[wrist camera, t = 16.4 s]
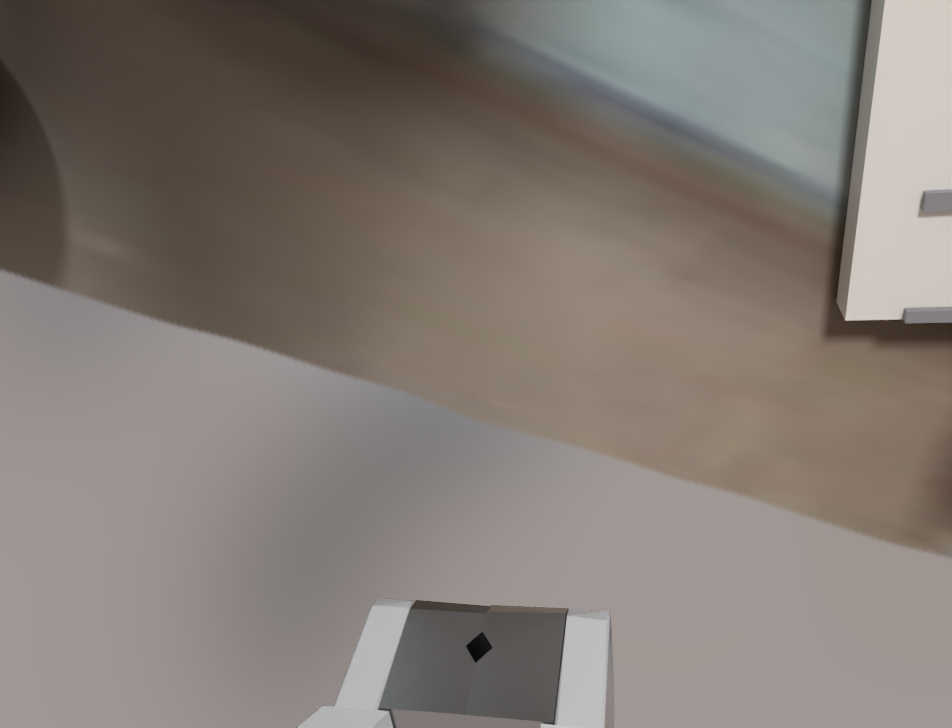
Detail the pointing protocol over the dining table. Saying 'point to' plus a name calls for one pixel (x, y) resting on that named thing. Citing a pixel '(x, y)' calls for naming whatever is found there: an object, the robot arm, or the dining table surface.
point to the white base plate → (902, 170)
